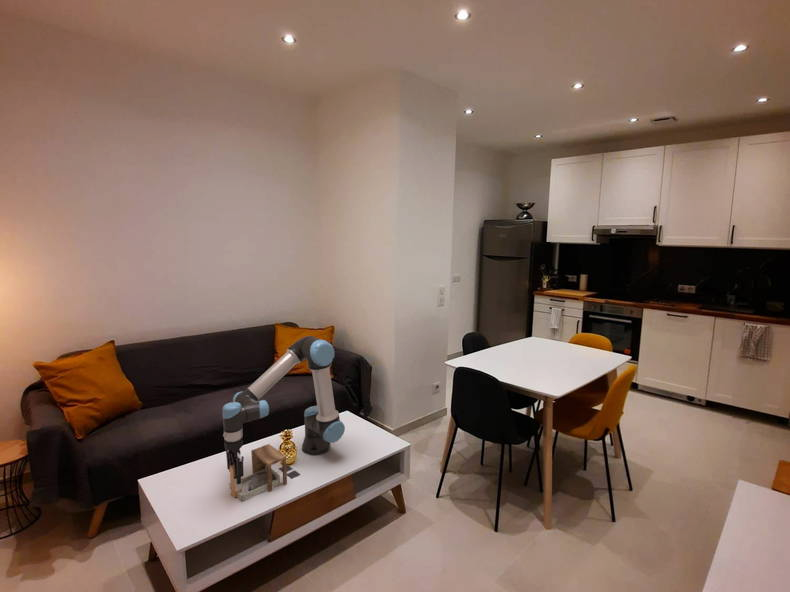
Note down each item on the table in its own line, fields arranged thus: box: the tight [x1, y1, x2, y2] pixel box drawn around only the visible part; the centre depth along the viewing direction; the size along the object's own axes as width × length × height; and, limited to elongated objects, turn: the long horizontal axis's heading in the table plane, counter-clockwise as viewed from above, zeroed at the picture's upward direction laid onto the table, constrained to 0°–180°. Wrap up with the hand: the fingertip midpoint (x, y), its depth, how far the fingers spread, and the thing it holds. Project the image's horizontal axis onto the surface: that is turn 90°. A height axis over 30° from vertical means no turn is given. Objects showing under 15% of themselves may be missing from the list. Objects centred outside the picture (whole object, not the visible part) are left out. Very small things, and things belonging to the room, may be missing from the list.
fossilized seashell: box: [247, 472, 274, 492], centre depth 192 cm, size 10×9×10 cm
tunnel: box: [251, 443, 288, 493], centre depth 194 cm, size 9×16×14 cm, turn 45°
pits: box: [278, 465, 301, 480], centre depth 203 cm, size 5×12×1 cm, turn 45°
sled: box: [228, 464, 281, 502], centre depth 189 cm, size 20×12×14 cm, turn 135°
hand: (236, 487), depth 184 cm, fingers closed on sled, 3 cm apart
